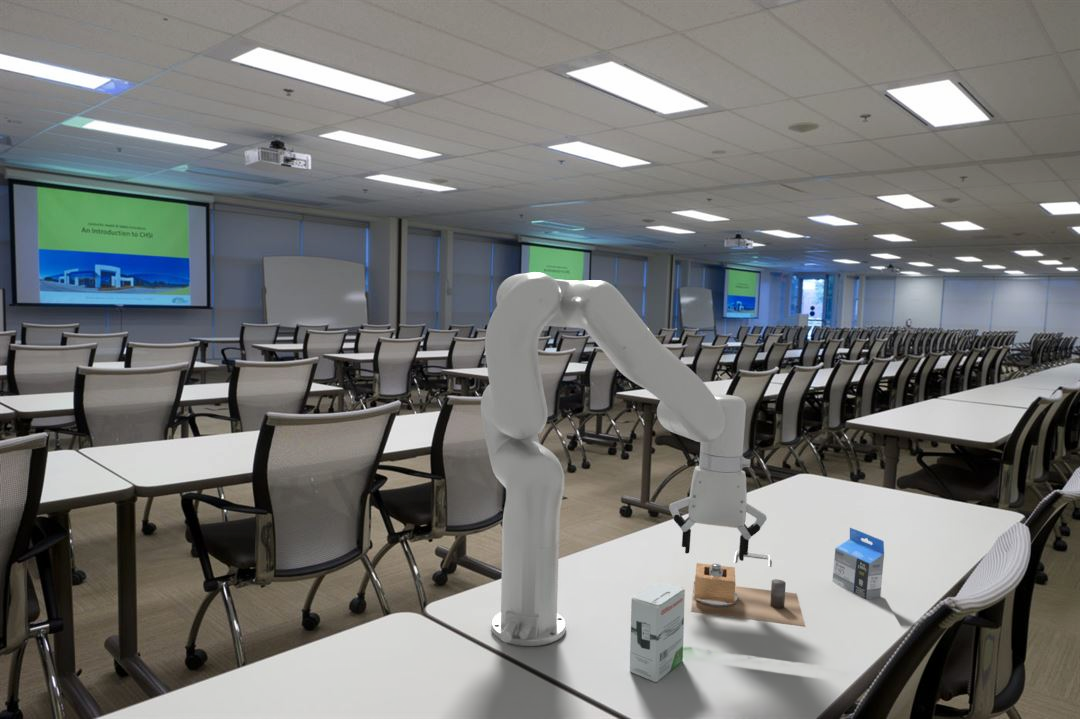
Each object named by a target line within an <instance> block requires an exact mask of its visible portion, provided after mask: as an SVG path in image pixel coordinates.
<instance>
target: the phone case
mask: <svg viewBox="0 0 1080 719" xmlns="http://www.w3.org/2000/svg"><path fill="white" fill-rule="evenodd" d="M737 556H739V550H735V552H734V558H733V563H734V564H735V563H736V561H737ZM744 556H745V557H751V558H752V557H753V558H759V559H767V561H768V562H767V563H768V564H767V565H768V567H771V555H770V554H766V553H765V554H764V553H757V552H752V551H751V552H750V551H748V555H744Z"/></svg>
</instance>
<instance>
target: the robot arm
mask: <svg viewBox="0 0 1080 719" xmlns="http://www.w3.org/2000/svg"><path fill="white" fill-rule="evenodd" d="M495 297H496V298H495V299H496V300H495V301H496V305H497V306H496V307H495V309H494V310H493V312H492V315H491V317H490V318H489V321H488V324H487V327H486V330H485V331H486V332H485V336H484V353H485V361H486V368H487V378H488V383H489V384H488V385H487V386H486V387H485V389H484V390H483V393H482V396H481V400H480V415H481V420H482V425H483V431H484V437H485V443H486V447H487V448H486V449H487V452H488V456H489V461H490V462H489V463H490V466H491V468H492V472H493V474H494V475H495V478H497V480H498V481H499V483H500V484H501V485H502V486H503V487H504V488H505V502H504V508H503V517H502V528H501V529H502V530H501V533H502V534H501V536H502V537H501V542H502V543H501V545H502V546H501V583H500V585H501V589H500V591H501V594H500V595H501V596H500V612H498V613H497V614H496V615H495V616H493V618H492V620H491V626H490V628H491V629H490V630H491V632H492V634H493V635H494V636H495V637H497V638H498V639H499V640H500V641H503V643H508V644H510V645H516V646H521V647H523V646H524V647H538V646H546V645H548V644H552V643H554V642H556V641H559V639H561V638H562V637H563V636H564V634H566V633H565V632H566V631H567V630H566V627H567V626H566V625H567V624H566V623H567V622H566V620H565V619H564V617H562V615H560V614H559V613H558V589H559V588H558V587H559V558H560V557H559V550H560V547H559V546H560V539H559V538H560V521H561V520H560V519H561V508H562V502H563V496H564V492H565V491H564V490H565V482H566V481H565V479H566V478H565V473H564V469H563V467H562V464H561V461H560V460H559V458H558V457H557V456H556V455H555V454H554V452H553V451H551V450H550V449H548V448H547V447H545V446H544V445H542V444H541V443H540V439H539V435H540V433H542V431H544V429H545V426H546V424H547V421H548V416H549V415H548V413H549V412H548V406H547V401H546V400H547V399H546V395H545V390H544V384H543V379H542V374H541V373H542V372H541V369H540V360H539V352H538V351H539V350H538V349H539V348H538V347H539V340H540V336H541V334H542V333H543V332H542V331H544V328H545V327H546V326H547V327H558V328H575V329H583V330H584V331H585V332H586V333H587V334H588V335H589V337H590V338H591V339H592V340H593V341H594V342H595V343H596V345H597V346H598V347H599V348H600V350H601V351H602V353H604V355H605V356H606V357H607V358H608V360H609V361H610V362H611V363H612V364H613V365H614V367H615V368H616V369H617V370H618V371H619V373H621V375H623V376H624V377H626V378H627V379H628V380H629V381H631V382H633V383H634V384H635V385H637V386H639V387H641V388H643V389H645V390H646V391H647V392H649V393H651V394H652V395H653V396H654V397H656V398H657V399H658V400H659V403H658V405H657V407H656V416H657V419H658V423H660V425H661V426H662V427H663V428H665V429H666V430H667V431H668V432H671V433H673V434H676V435H679V436H681V437H684V438H687V439H690V440H693V441H695V442H698V443H700V450H699V462H698V465H696V466H695V467H694V469H693V472H692V477H691V483H690V490H689V491H690V492H689V496H687V497H684V498H682V499H678V500H676V501H674V502H670V504H669V506H668V510H669V511H670V514H671V516H672V518H673V520H674V522H675V523H676V524H677V526H678V527H679V528H680V529H681V532H682V536H681V537H682V539H681V548H684V551H685V552H684V553H685V554H690V549H691V548H690V547H691V535H692V534H691V532H692V529H691V528H692V527H693V526H694V525H695V524H699V525H700V524H701V525H706V526H707V525H708V526H715V527H724V528H733V529H735V528H736V529H737V530H738V531H739V533H740V536H739V547H738V548H739V549H738V551H739V555H738V560H739V561H742V562H744V558H745V557H744V555H748V552H749V540H750V539H751V538H752V537H753V536H755V534H757V533H759V531H761V528H762V526H763V525H764V524H765V522H766V521H767V515H766V514H765V513H764V512H762V511H760V510H759V509H757V508H756V507H754V506H752V505H751V504H749V503H748V502H747V500H748V499H747V497H748V496H747V494H748V493H747V491H748V490H747V476H746V471H745V470H743V469H744V468H746V467H747V468H749V467H751V459H748V458H745V456H743V454H744V441H745V440H744V438H745V425H746V414H747V413H746V411H747V403H746V401H745V400H744V398H742V397H740V396H737V395H731V394H719V393H718V394H713V392H712V391H711V390H710V388H709V387H708V386H707V385H706V384H705V383H704V381H703V380H702V379H701V378H700V377H699V376H698V374H696V373H695V372H694V371H693V370H692V369H691V368H690V367H689V366H688V365H687V364H686V363H684V362H683V361H682V360H680V358H678V357H677V355H675V354H674V353H673V352H672V351H671V350H670V349H669V348H668V347H666V346H665V345H663V344H662V342H660V340H658V339H657V337H656V336H655V335H654V333H653V332H652V331H651V330H650V328H649V327H648V326H647V325H646V324H645V322H644V321H643V319H642V318H641V317H640V315H639V314H637V312H636V311H635V310H634V308H633V307H632V305H630V302H628V301H627V300H626V298H625V297H624V296H623V294H622V293H621V292H620V291H619V290H618V289H617V287H615V285H613V284H611V283H609V282H608V281H606V280H600V279H599V280H598V279H597V280H596V279H595V280H594V279H592V280H568V279H566V280H565V279H559V278H558V279H555V278H553V277H552V276H550V275H549V274H546V273H544V272H538V271H537V272H536V271H533V272H526V273H517V274H514V275H511V276H509V277H507V278H506V279H504V280H503V281H502V282H501V284H500V285H499V287H498V289H497V292H496V296H495ZM685 507H688V517H686V519H685V518H683V516H682V515H681V514H680V512H679V510H680V509H682V508H685ZM747 514H749V515H751V516H752V517H753V518H756V519H755V521H754V522H753V523H752V524H751V525H750V526H747V524H746V520H747V518H746V517H747Z"/></svg>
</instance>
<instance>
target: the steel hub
mask: <svg viewBox="0 0 1080 719" xmlns="http://www.w3.org/2000/svg"><path fill="white" fill-rule="evenodd" d="M711 565H712V567H711V568H710V569H709V575H710V576H719V577H723V569H721V566H722V565H721V564H720V563H719V564H718V563H712V564H711ZM694 594H695V588H694V589H692V598H694ZM694 600H695V601H697V602H698V603H700V604H703V605H706V606H710V607H716V608H726V607H731V606H734V605H735V604H736V603H737V593H736V592H735V600H734V603H728V602H720V601H712V600H704V599H696V598H694Z"/></svg>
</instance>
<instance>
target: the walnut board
mask: <svg viewBox="0 0 1080 719" xmlns="http://www.w3.org/2000/svg"><path fill="white" fill-rule="evenodd" d="M694 588H695V580H694V581H693V589H694ZM693 589H692V590H693ZM735 592H736V593H737V603H736V604H735V605H734V606H731V607H726V608H716V607H710V606H706V605H703V604H700V603H698V602H697V601H695V600H694V598H693V597H692V599H691V600H692V601H691V608H690V609H691V610H690V611H691V612H692V613H698V614H704V615H706V614H707V615H712V616H713V615H714V616H720V617H721V616H722V617H727V618H728V617H729V618H736V619H744V620H753V621H761V622H766V623H769V622H770V623H776V624H782V625H790V626H799V627H806V624H805V620H804V616H803V613H802V609H801V605H800V601H799V597H798V594H797V592H796V593H795V592H786V581H785V580H782V579H776V578H775V579H774V578H773V579H771V586H770V589H764V588H763V589H762V588H753V587H745V586H737V585H735Z"/></svg>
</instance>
